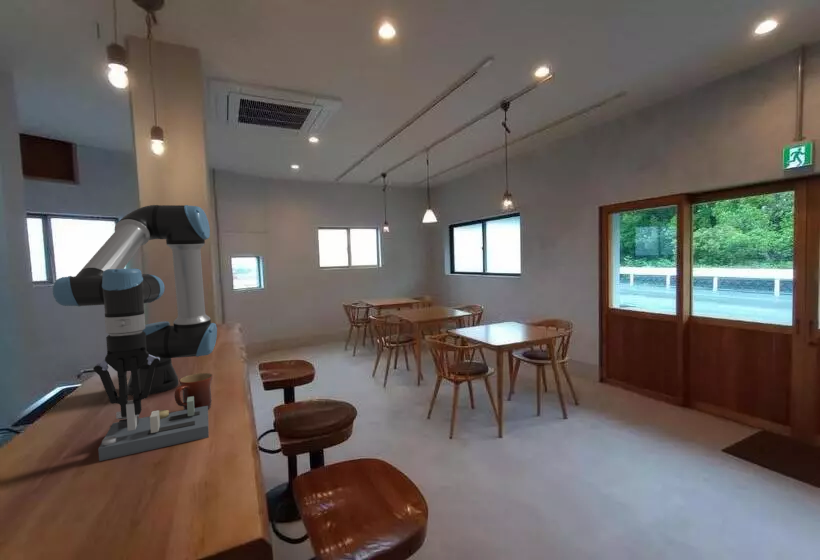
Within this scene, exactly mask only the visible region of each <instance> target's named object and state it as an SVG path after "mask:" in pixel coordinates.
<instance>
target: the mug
mask: <svg viewBox="0 0 820 560" xmlns="http://www.w3.org/2000/svg"><path fill="white" fill-rule="evenodd" d="M212 379H213V374H212V373H210V372H209V373H208V372H202V373H201V372H200V373H194V374H189V375H185V376H183V377H181V378H180V379H178V383H179V384H180V385H179V386H178V387H176V389H175V390H174V400H175V403H176V404H177V405H178V406H180V407H183V410H187V398H188V397H192V396H194V408H198V407H203V406H208V411H209V410H210V408H211V407H212V392H211V391H212V389H211V385H212ZM181 392H182V397H181ZM181 398H182V399H181Z"/></svg>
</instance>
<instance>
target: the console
mask: <svg viewBox="0 0 820 560" xmlns="http://www.w3.org/2000/svg"><path fill="white" fill-rule="evenodd" d="M194 409H195V411H194V415H193V416H188V412H187V410H184V409H183V410H176V411H171V412H170V410H168V409H163V410H159V417H160V427H159V431H158V432H155V433H151V427H150V416H151V415H150V416H145V417H140V416H138V417H137V427H136V429H135V430H131V431H128V428H127V419H119V421H117V422H112V424H111V425H110V427H109V429H108V431H107V433H106V434H105V436H104V438H103V439H102V440H101V443H100V445H99V447H98V449H97V450H98V461H99V462H101V461H106V460H112V459H116V458H120V457H124V456H130V455H134V454H138V453H142V452H147V451H152V450H156V449H161V448H165V447H166V448H167V447H170V446H175V445H179V444H182V443H183V444H185V443H188V442H193V441H197V440H202V439H207V438H209V432H210V431H209V430H210V429H209V410H208V406H203V407H198V408H194Z"/></svg>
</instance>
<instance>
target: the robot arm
mask: <svg viewBox="0 0 820 560" xmlns="http://www.w3.org/2000/svg"><path fill="white" fill-rule="evenodd" d="M210 228H211V227H210V223H209V219H208V217H207V214H206V212H205V211H204V209H203V208H202V207H200V206H197V205H188V204H187V205H186V204H184V205H182V204H181V205H180V204H179V205H176V204H175V205H169V204H167V205H163V204H162V205H161V204H160V205H159V204H152V205H151V204H150V205H145V206H141V207H139V208H137V209H134V210H132V211H131V212H128V214H126V215H124V216H123V217H121V219H120V220H119V221H118V222H117V223H116V224H115V226H114V232H113V233H112V234H111V235H110V237H109V238H108V239H107V240H106V241H105V242H104V244H103V245H102V246H101V247H100V248H99V249H98V251H96V253H94V255H93V256H92V257H91V258H90V260H88V262H87V263H86V264H85V265H84V266H83V268H81V270H80V271H79V272H78V273H77V274H76V275H75V276H72V275H69V276H63V277H59V278H57V279H56V281H54V284H53V285H52V286H53V287H52V295H53V298H54V299H55V302H56V303H57V304H58V305H60V306H64V307H87V306H88V307H89V306H90V307H91V306H104V307H103V308H104V324H105V333H106V334H107V336H106V338H105V340H106V356H105V358H104V360H103V361H101V362H100V363H97V364H96V365H95V366H93V371H94V372H95V373H96V374H97V375H98V376H99V378H100V380H101V383H102V386H103V388H104V391H105V393H106V394H107V395H106V396H107V397H108V401H109V403H110V404H117V405H119V406H120V411H121V416H122V417H127V428H128V431H131V430H135V429H136V427H137V415H139V416H140V415H141V412H142V400H144V399H147V398H148V397H149V396H150V395H155V394H159V393H163V392H167V391H169V390H173V389H174V388H177V386H178V385H179V384H180V382H179V377H178V374H177V373H176V370H175V368H174V366H173V364H172V363H173V362H172V359H177V358H180V359H181V358H188V357H189V358H191V357H196V358H199V357H202V356H203V357H204V356H209V355H210V354H212V352H213V351H214V349H215V345H216V342H217V338H218V337H217V336H218V327H217V324H216V323H215V322H212V320H211V317H210V316H209V315H207V313H206V304H205V291H204V289H205V288H204V280H203V266H202V265H203V264H202V252H201V251H202V250H201V249H202V248H203V247H204V246H205V245H206V241H205V240H208V239H210V237H211V229H210ZM151 240H165V241H166V242H165V243H166V246H167V247H168V248H169V249H171V251H172V263H173V272H174V275H173V276H174V284H175V298H176V309H177V318H175V320H174V321H173V322H172V323H173V325H171V323H170V321H166V320H165V321H157V322H151V323H148V324H146V321H145V319H146V318H145V317H146V315H145V304H149V303H153V302H154V301H157V300H159V299H160V298H161V297H162V296H163V295H164V293H165V287H166V286H165V284H164V281H163V280H162V279H161V277H159V276H157V275H154V274H150V273H148V274H147V273H146V274H145V273H144V274H142V270H141V269H139V268H126V267H127V265H128V264H129V262H130V261H131V259H132V258H133V257H134V255H136V253H137V252H138V250H139V248H140V247H141V246H144V245H146V244H147V243H148V242H149V241H151ZM109 366H110V367H111V368H112V369H113V370H114V371H116V372H117V373H116V375H117V381H118V392H117V389H116V386H115V384H114V382H113V379H112V377H111V374H110V372H109V370H108V369H109ZM128 372H130V375H129V379H128V378H127V377H128V376H127V375H128V374H127V373H128ZM118 393H119V394H118ZM129 395H131V396H132V397H133V398H132V399H131V400H129Z"/></svg>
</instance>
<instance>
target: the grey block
mask: <svg viewBox="0 0 820 560" xmlns="http://www.w3.org/2000/svg"><path fill="white" fill-rule="evenodd" d="M194 411H195V409H194V396H192V397H188V398H187V412H188V416H193V415H194Z"/></svg>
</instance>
